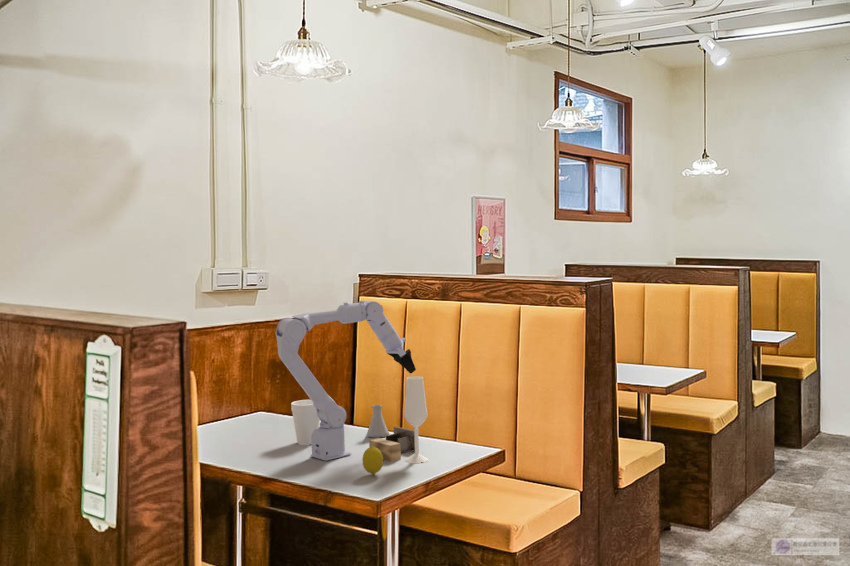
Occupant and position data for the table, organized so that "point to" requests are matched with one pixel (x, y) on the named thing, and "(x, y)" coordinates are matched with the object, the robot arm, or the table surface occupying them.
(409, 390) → the champagne flute
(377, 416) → the flask
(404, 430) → the bracket
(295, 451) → the table surface
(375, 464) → the lemon
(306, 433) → the foam cup
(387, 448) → the wooden block
